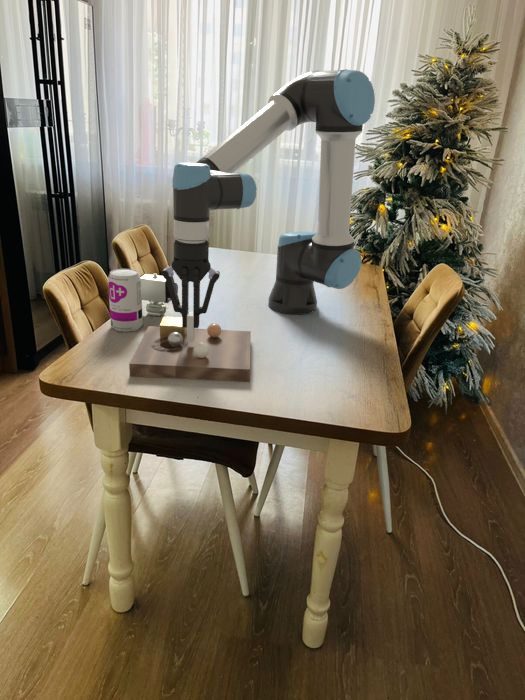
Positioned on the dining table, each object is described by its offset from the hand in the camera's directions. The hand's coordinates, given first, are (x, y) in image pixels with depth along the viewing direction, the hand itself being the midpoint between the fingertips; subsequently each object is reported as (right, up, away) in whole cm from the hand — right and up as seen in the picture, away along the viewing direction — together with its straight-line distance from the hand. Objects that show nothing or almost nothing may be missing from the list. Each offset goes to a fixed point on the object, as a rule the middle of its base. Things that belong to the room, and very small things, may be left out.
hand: (190, 340), depth 119 cm
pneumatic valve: (-14, +8, +27) cm, 31 cm away
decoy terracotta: (+5, +2, +6) cm, 8 cm away
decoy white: (+3, -2, -5) cm, 7 cm away
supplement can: (-19, +4, +17) cm, 26 cm away
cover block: (-5, +2, +7) cm, 9 cm away
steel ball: (-4, 0, 0) cm, 4 cm away
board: (+1, -4, +2) cm, 5 cm away
